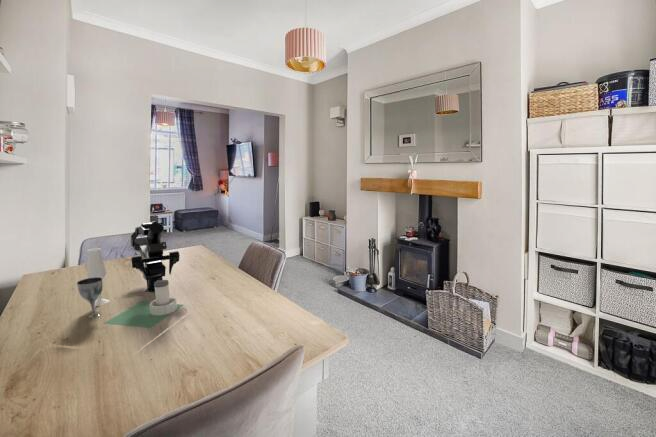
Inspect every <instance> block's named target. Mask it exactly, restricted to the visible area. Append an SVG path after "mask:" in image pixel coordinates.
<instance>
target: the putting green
mask: <svg viewBox="0 0 656 437" xmlns="http://www.w3.org/2000/svg"><path fill="white" fill-rule="evenodd" d="M183 306H184V304H178V303H177V299H176V298H175V297H171V296H170V304H168V305H165V306H156V299H154V300H152V301H140V302H138V303H137V304H135V305H134V306H131V307H130V308H128V309H126V310H124V311H123V312H121V313H118V314H117V315H116V316H113V317H112V318H110V319H109V320H107V321H105V322H103V324H106V325H118V326H126V327H127V326H128V327H129V326H130V327H136V328H137V327H139V328H150V329H151V328H153V327H154V326H155V325H157V324H158V323H160V322H161V321H163V320H164V319H166V318H167V317H168V316H170V315H172V314H173V313H174V312H175V311H177V310H179V309H180V308H181V307H183Z"/></svg>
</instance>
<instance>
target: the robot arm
mask: <svg viewBox="0 0 656 437" xmlns="http://www.w3.org/2000/svg"><path fill="white" fill-rule="evenodd" d="M164 228H165V227H164V225H162V223H159V222H158V221H157V220H154V221H151V222H145V223H143V222H142V223H141V224H140V226H137V227H135V228H134V232H133V233H132V234H131V235H130V246H131V247H132V249H133V250H134V251H137V252H139V253H140V255H135V256H132V257H131V267H132V269H135V270H139V271H140V272H141V273H142V276H143V277H142V278H143V279H144V280H145V281H146V289H145V291H144V292H154V293H155V286H154V282H156V281H158V280H164V279H163V277H166V268H167V267H166V266H165V264H164V263H163V261H167V260H169V262H168V263H169V264H168V273H169V275H172V270H173V268H174V265H175V264H177V263H178V262H179V261H180V252H179V251H178V250H175V251H169V252H168V254H167V255H166V254H165V255H164V250H167V241H161V239H162V237H163V235H164V234H163V233H164ZM140 235H142V236H140Z"/></svg>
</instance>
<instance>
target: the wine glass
mask: <svg viewBox="0 0 656 437" xmlns="http://www.w3.org/2000/svg"><path fill="white" fill-rule="evenodd" d="M76 284H77V285H76V286H77V290H78V293H79V295H80V297H81V298H82V299H84V300H85V301H87V302H88V303H89V304H90V306H91V311H92V314H90V315H89V316H88V318H89V319H90V318H91V319H93V318H97V317H99V316H100V315H101V314H100V313H96V310H95V307H96V306H95V301H96V300H98V297H99V296H100V294H101V295H102V291H103V288H104V287H103V284H104V282H103V279H102V278H100V277H93V278H88V277H87V278H84V279H80V280H79V281H77V282H76Z"/></svg>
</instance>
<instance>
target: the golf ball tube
mask: <svg viewBox="0 0 656 437" xmlns="http://www.w3.org/2000/svg"><path fill="white" fill-rule="evenodd" d="M169 284H170V283H169V280H168V279H163V280H158V281H156V282H154V286H155V292H154V293H155V300H156V306H165V305H168V304H170V297H171V296H170V287H169V286H170V285H169Z"/></svg>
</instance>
